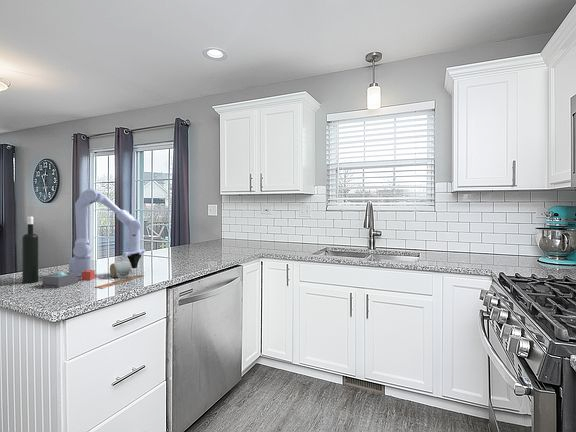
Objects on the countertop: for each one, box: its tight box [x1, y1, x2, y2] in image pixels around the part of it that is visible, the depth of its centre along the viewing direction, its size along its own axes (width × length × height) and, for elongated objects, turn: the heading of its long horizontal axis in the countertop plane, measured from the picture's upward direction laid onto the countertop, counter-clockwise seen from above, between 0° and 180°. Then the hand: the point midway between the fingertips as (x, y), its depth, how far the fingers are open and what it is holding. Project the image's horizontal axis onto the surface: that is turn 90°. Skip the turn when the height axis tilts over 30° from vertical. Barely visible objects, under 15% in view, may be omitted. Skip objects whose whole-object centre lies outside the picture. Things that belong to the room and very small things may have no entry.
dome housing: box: [41, 271, 78, 289], centre depth 145 cm, size 9×9×4 cm
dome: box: [52, 270, 68, 277], centre depth 145 cm, size 6×6×4 cm
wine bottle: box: [21, 216, 39, 284], centre depth 148 cm, size 6×6×30 cm
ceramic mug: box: [109, 260, 132, 280], centre depth 162 cm, size 11×8×8 cm
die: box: [81, 269, 96, 281], centre depth 156 cm, size 4×4×4 cm
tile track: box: [94, 274, 145, 289], centre depth 153 cm, size 4×26×1 cm, turn 165°
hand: (134, 268), depth 173 cm, fingers closed
